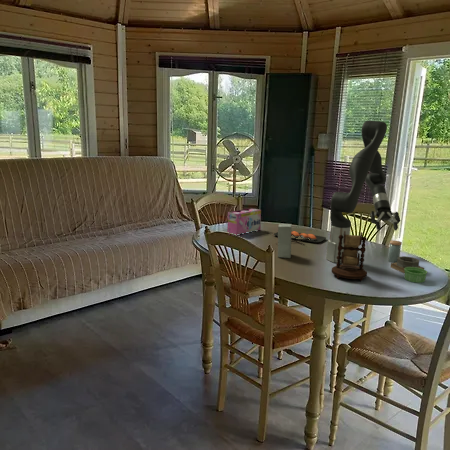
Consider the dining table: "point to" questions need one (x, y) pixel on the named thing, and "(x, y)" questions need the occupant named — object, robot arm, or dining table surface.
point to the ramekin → (415, 274)
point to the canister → (394, 251)
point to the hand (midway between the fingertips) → (387, 229)
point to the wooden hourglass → (350, 257)
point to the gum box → (244, 221)
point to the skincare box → (284, 240)
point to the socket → (405, 263)
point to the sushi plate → (305, 237)
